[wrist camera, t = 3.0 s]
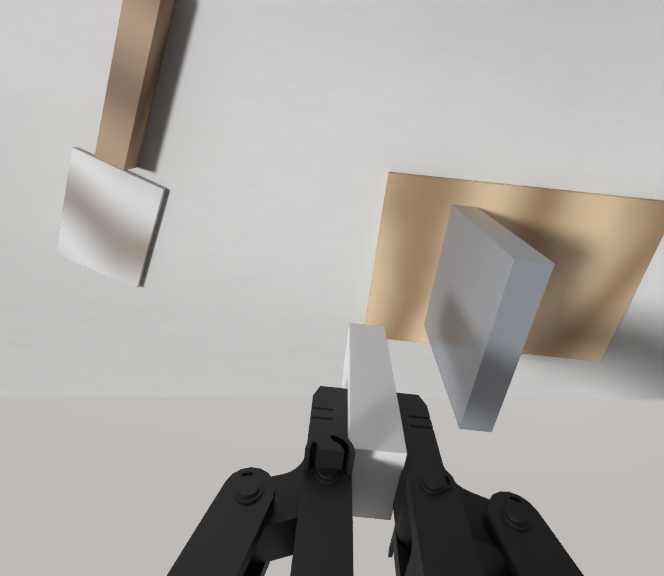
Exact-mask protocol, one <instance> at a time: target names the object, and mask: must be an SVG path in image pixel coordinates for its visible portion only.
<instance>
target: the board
mask: <svg viewBox="0 0 664 576" xmlns="http://www.w3.org/2000/svg"><path fill="white" fill-rule="evenodd" d="M452 204H453V205H463V206H472V207H478V208H479V209H480V210H482V211H483V212H484V213H486V214H487V215H489V216H490V217H491V218H493V219H494V220H495V221H497V222H498V223H500V224H501V225H502V226H504V227H505V228H506V229H508V230H509V231H511V232H512V233H513V234H515V235H516V236H517V237H519V238H520V239H522V240H523V241H524V242H526V243H527V244H528V245H530V246H531V247H533V248H534V249H535V250H537V251H538V252H539V253H541V254H542V255H544V256H545V257H546V258H548V259H549V260H550V261H552V262H553V263H555V265H554V268H553V270H552V273H551V276H550V278H549V281H548V284H547V286H546V289H545V292H544V294H543V297H542V299H541V302H540V305H539V307H538V310H537V313H536V315H535V318H534V321H533V323H532V326H531V329H530V331H529V334H528V337H527V339H526V342H525V345H524V347H523V350H522V353H525V354H534V355H544V356H553V357H563V358H572V359H581V360H591V361H600V362H601V360H602V358H603V356H604V354H605V352H606V350H607V348H608V346H609V344H610V342H611V340H612V338H613V336H614V334H615V331H616V329H617V327H618V325H619V323H620V321H621V319H622V317H623V315H624V313H625V311H626V309H627V307H628V305H629V303H630V301H631V299H632V297H633V295H634V293H635V291H636V289H637V287H638V285H639V283H640V281H641V279H642V277H643V275H644V273H645V270H646V268H647V266H648V264H649V262H650V260H651V258H652V256H653V254H654V252H655V250H656V248H657V246H658V244H659V242H660V240H661V238H662V236H663V234H664V201H663V200H653V199H643V198H634V197H624V196H615V195H605V194H596V193H586V192H576V191H567V190H557V189H548V188H538V187H529V186H519V185H510V184H500V183H490V182H481V181H471V180H462V179H452V178H443V177H433V176H423V175H414V174H404V173H395V172H388V179H387V185H386V192H385V198H384V205H383V211H382V218H381V225H380V231H379V238H378V244H377V251H376V257H375V264H374V270H373V277H372V283H371V290H370V296H369V303H368V309H367V316H366V322H365V325H374V326H384V327H385V332H386V337H387V339H393V340H402V341H412V342H421V343H430V342H429V339H428V336H427V333H426V330H425V328H424V322H425V318H426V314H427V309H428V305H429V301H430V296H431V292H432V288H433V283H434V279H435V275H436V271H437V266H438V262H439V258H440V253H441V249H442V245H443V240H444V236H445V232H446V227H447V223H448V219H449V214H450V210H451V206H452Z"/></svg>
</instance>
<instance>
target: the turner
mask: <svg viewBox="0 0 664 576" xmlns="http://www.w3.org/2000/svg"><path fill="white" fill-rule="evenodd" d="M175 1H176V0H123V3H122V8H121V14H120V19H119V25H118V30H117V36H116V41H115V47H114V52H113V58H112V64H111V69H110V75H109V80H108V86H107V91H106V97H105V102H104V108H103V113H102V119H101V124H100V130H99V136H98V141H97V147H96V152H95V156H94V155H92V154H90V153H88V152H85V151H83V150H81V149H79V148H77V147H73V148H72V153H71V160H70V166H69V173H68V179H67V186H66V192H65V199H64V205H63V212H62V218H61V225H60V231H59V238H58V244H57V251H56V254H57V255H59V256H62V257H64V258H66V259H69V260H71V261H74V262H76V263H78V264H81V265H83V266H86V267H88V268H90V269H93V270H95V271H97V272H100V273H102V274H105V275H107V276H109V277H112V278H114V279H117V280H119V281H121V282H124V283H126V284H129V285H131V286H133V287H136V288H138V287H139V286H140V283H141V279H142V275H143V272H144V268H145V264H146V261H147V257H148V253H149V250H150V246H151V242H152V239H153V235H154V231H155V228H156V224H157V220H158V217H159V213H160V209H161V205H162V202H163V198H164V194H165V191H166V188H164V187H161V186H159V185H157V184H155V183H153V182H151V181H148V180H146V179H144V178H142V177H140V176H138V175H135V174H133V173H131V172H129V171H127V170H128V169H132V168H136V167H137V165H138V161H139V156H140V152H141V148H142V143H143V139H144V135H145V130H146V126H147V122H148V117H149V113H150V109H151V104H152V100H153V96H154V91H155V87H156V83H157V78H158V74H159V70H160V65H161V61H162V57H163V53H164V48H165V44H166V40H167V35H168V31H169V27H170V22H171V18H172V14H173V9H174V5H175Z"/></svg>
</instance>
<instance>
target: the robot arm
mask: <svg viewBox="0 0 664 576" xmlns="http://www.w3.org/2000/svg"><path fill="white" fill-rule="evenodd" d="M393 510H394V519H395V527H394V531H393V535H392V539H391V543H390V547H389V555H388V557H392V556H393V552H394V560H395V569H396V576H584V575H583V574H582V573H581V571H580V570H579V568H578V567H577V566H576V564H575V563H574V561H573V560H572V559H571V558H570V556H569V554H568V553H567V552H566V550H565V549H564V547H563V546H562V545H561V543H560V542H559V540H558V539H557V538H556V537H555V535H554V533H553V532H552V531H551V529H550V528H549V526H548V525H547V524H546V522H545V521H544V519H543V518H542V517H541V515H540V514H539V512H538V511H537V510H536V509H535V508H534V507H533V506H532V505H531V504H530V503H529V502H528V501H526V500H525V499H524V498H522V497H521V496H519V495H516V494H513V493H510V492H501V491H500V492H498V493H495V494H493V495H492V497H491V498H490V500H489V499H487V498H484V497H482V496H479V495H477V494H474V493H472V492H469V491H467V490H465V489H463V488H462V487H460V486H459V485H457V484H456V483H455V481H454V479H453V477H452V476H451V475H450V474H449V473H448V472H447V471H446V470H445V468H444V466H443V463H442V459H441V456H440V452H439V448H438V445H437V442H436V438H435V434H434V430H433V427H432V423H431V420H430V416H429V412H428V409H427V406H426V404H425V403H424V402H423V400H422V399H421V398H420V397H419V395H413V394H403V393H396V388H395V382H394V377H393V371H392V365H391V360H390V354H389V349H388V343H387V337H386V332H385V327H384V326H374V325H364V324H354V323H350V324H349V331H348V339H347V346H346V354H345V361H344V369H343V388H335V387H325V386H320V387H319V388H318V390H317V391H316V392H315V394H314V395H313V402H312V410H311V417H310V425H309V433H308V441H307V445H306V448H305V457H304V460H303V461H302V463H301V464H300V465H299V466H298V467H297V468H296V469H294V470H292V471H291V472H288V473H285V474H282V475H277V476H272V477H271V476H270V475H269V473H267V472H266V471H264V470H262V469H260V468H252V467H250V468H245V469H241V470H239V471H237V472H235V473H233V474H232V475H231V476H230V477H229V478H228V480H227V481H226V482H225V483H224V485H223V487H222V488H221V490H220V491H219V493H218V494H217V496H216V498H215V499H214V501H213V502H212V504H211V506H210V507H209V509H208V510H207V512H206V514H205V515H204V517H203V519H202V520H201V522H200V523H199V525H198V526H197V528H196V530H195V531H194V533H193V534H192V536H191V538H190V539H189V541H188V542H187V544H186V546H185V547H184V549H183V550H182V552H181V554H180V555H179V557H178V559H177V560H176V562H175V563H174V565H173V567H172V568H171V570H170V571H169V573H168V575H167V576H264V575H265V573H266V570H267V568H268V565H269V563H270V561H272V560H275V559H279V558H283V557H287V556H290V555H293V559H292V567H291V575H290V576H353V520H352V516H355V517H365V518H375V519H385V520H391V516H392V512H393Z"/></svg>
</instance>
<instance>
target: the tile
mask: <svg viewBox="0 0 664 576" xmlns="http://www.w3.org/2000/svg"><path fill="white" fill-rule="evenodd" d="M554 265H555V263H553V262H552V261H550V260H549V259H548V258H546V257H545V256H544V255H542V254H541V253H539V252H538V251H537V250H535V249H534V248H533V247H531V246H530V245H528V244H527V243H526V242H524V241H523V240H522V239H520V238H519V237H517V236H516V235H515V234H513V233H512V232H511V231H509V230H508V229H506V228H505V227H504V226H502V225H501V224H500V223H498V222H497V221H495V220H494V219H493V218H491V217H490V216H489V215H487V214H486V213H484V212H483V211H482V210H480V209H479V208H478V207H472V206H463V205H453V204H452V206H451V210H450V214H449V219H448V223H447V227H446V232H445V236H444V240H443V245H442V249H441V253H440V258H439V262H438V266H437V271H436V275H435V279H434V283H433V288H432V292H431V296H430V301H429V305H428V309H427V314H426V318H425V322H424V328H425V330H426V333H427V336H428V339H429V342H430V345H431V348H432V351H433V354H434V356H435V359H436V362H437V365H438V368H439V371H440V374H441V377H442V380H443V382H444V385H445V388H446V391H447V394H448V397H449V400H450V402H451V405H452V409H453V411H454V414H455V417H456V420H457V423H458V426H459V428H460V429H468V430H477V431H485V432H492V430H493V427H494V424H495V422H496V419H497V416H498V413H499V411H500V408H501V406H502V403H503V401H504V398H505V395H506V393H507V390H508V387H509V385H510V382H511V379H512V377H513V374H514V371H515V369H516V366H517V363H518V361H519V358H520V355H521V353H522V350H523V347H524V345H525V342H526V339H527V337H528V334H529V331H530V329H531V326H532V323H533V321H534V318H535V315H536V313H537V310H538V307H539V305H540V302H541V299H542V297H543V294H544V292H545V289H546V286H547V284H548V281H549V278H550V276H551V273H552V270H553V268H554Z"/></svg>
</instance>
